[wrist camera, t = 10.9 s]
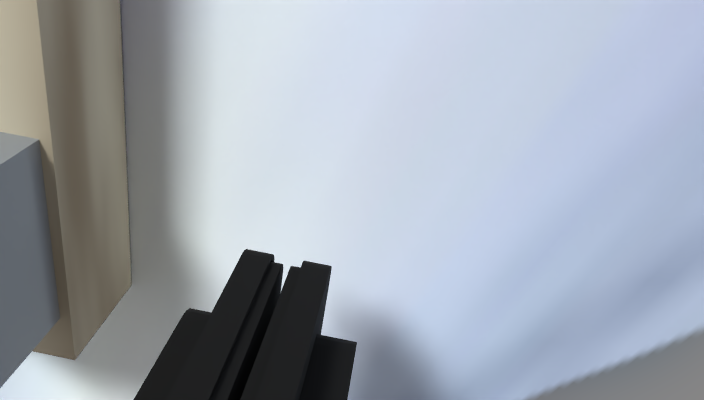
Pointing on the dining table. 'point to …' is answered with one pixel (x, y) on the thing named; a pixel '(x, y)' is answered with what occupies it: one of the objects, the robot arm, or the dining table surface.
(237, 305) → the robot arm
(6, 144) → the slate tile
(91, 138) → the birch platform
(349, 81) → the dining table surface
